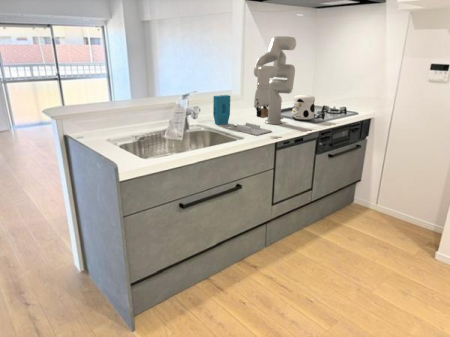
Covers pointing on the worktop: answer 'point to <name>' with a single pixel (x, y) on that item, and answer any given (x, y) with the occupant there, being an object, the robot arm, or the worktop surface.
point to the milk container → (303, 107)
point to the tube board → (250, 129)
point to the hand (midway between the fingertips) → (261, 115)
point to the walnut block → (264, 113)
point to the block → (221, 109)
